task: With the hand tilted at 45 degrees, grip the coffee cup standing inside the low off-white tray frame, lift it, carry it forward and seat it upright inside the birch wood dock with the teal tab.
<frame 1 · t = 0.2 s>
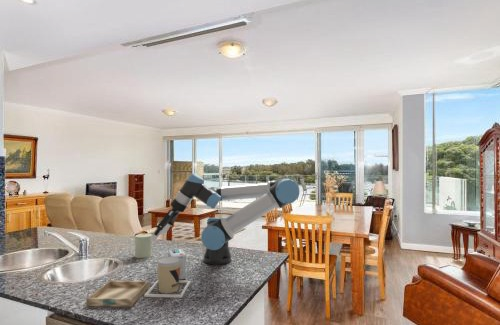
hand: (157, 237, 141), 15 cm above the counter, tool tilted 35°, fingers open, 13 cm apart
tray: (168, 289, 117), on the counter
can: (143, 256, 161), on the counter
dock: (119, 296, 110), on the counter
coffee cup: (168, 289, 117), resting in tray
light bulb box: (176, 276, 132), on the counter
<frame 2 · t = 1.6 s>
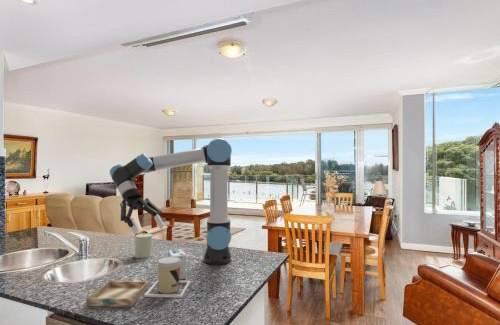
hand: (150, 229, 124), 23 cm above the counter, tool tilted 45°, fingers open, 13 cm apart
nothing on the counter moved.
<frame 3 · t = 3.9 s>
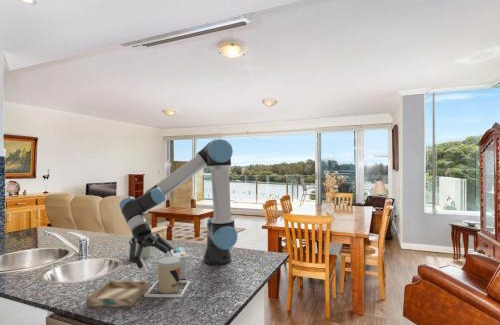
hand: (160, 270, 116), 8 cm above the counter, tool tilted 45°, fingers open, 13 cm apart
coffee cup: (168, 289, 117), resting in tray, touching gripper
light bulb box: (176, 274, 132), point 1 cm above the counter, touching gripper
everything else where it was.
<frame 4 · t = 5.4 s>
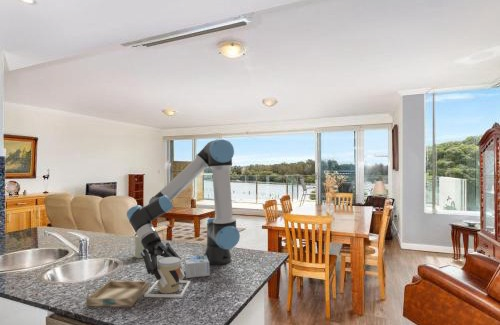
hand: (174, 281, 115), 4 cm above the counter, tool tilted 45°, fingers closed on coffee cup, 9 cm apart
coffee cup: (168, 289, 117), resting in tray, touching gripper
light bulb box: (184, 267, 134), point 3 cm above the counter
everything else where it was.
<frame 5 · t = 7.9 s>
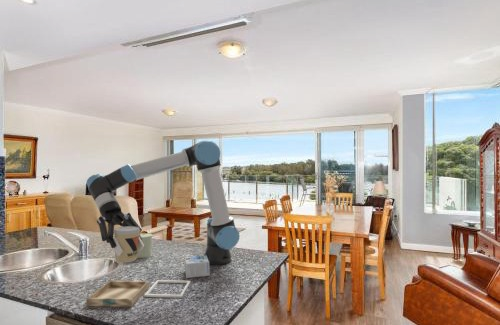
hand: (131, 250, 110), 18 cm above the counter, tool tilted 45°, fingers closed on coffee cup, 9 cm apart
coffee cup: (126, 259, 111), point 14 cm above the counter, touching gripper
everything else where it was.
when the fingers open (6 cm above the counter, at t = 10.7 s): coffee cup drops 1 cm, resting on dock.
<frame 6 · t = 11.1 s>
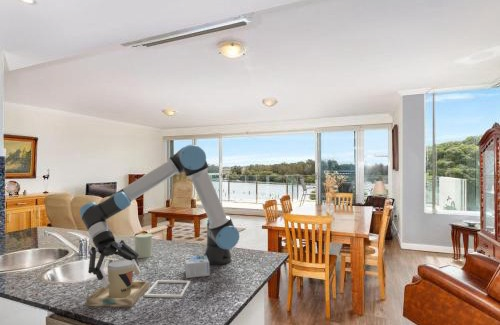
hand: (123, 280, 109), 7 cm above the counter, tool tilted 45°, fingers open, 13 cm apart
coffee cup: (120, 294, 110), resting on dock
everything else where it was.
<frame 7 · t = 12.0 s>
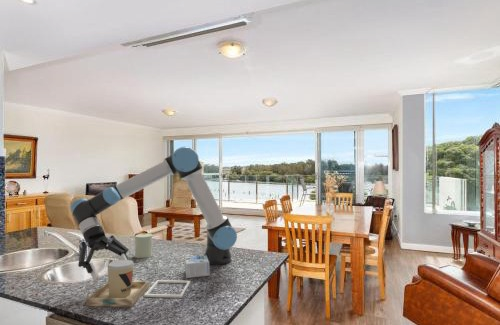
hand: (113, 273, 112), 8 cm above the counter, tool tilted 45°, fingers open, 13 cm apart
nothing on the counter moved.
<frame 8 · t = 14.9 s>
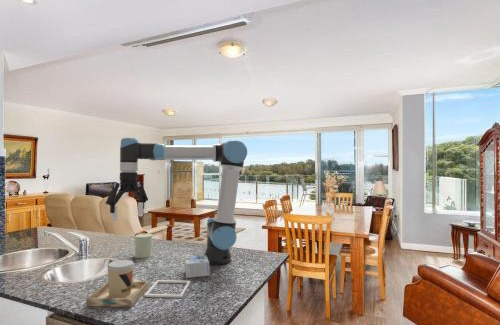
hand: (127, 218, 130), 27 cm above the counter, tool pointing down, fingers open, 13 cm apart
nothing on the counter moved.
at the end: coffee cup inside the target area on the dock (0.1 cm from its centre), point 0.4 cm above the dock's base; coffee cup tilted 1°; the gripper is holding nothing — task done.
